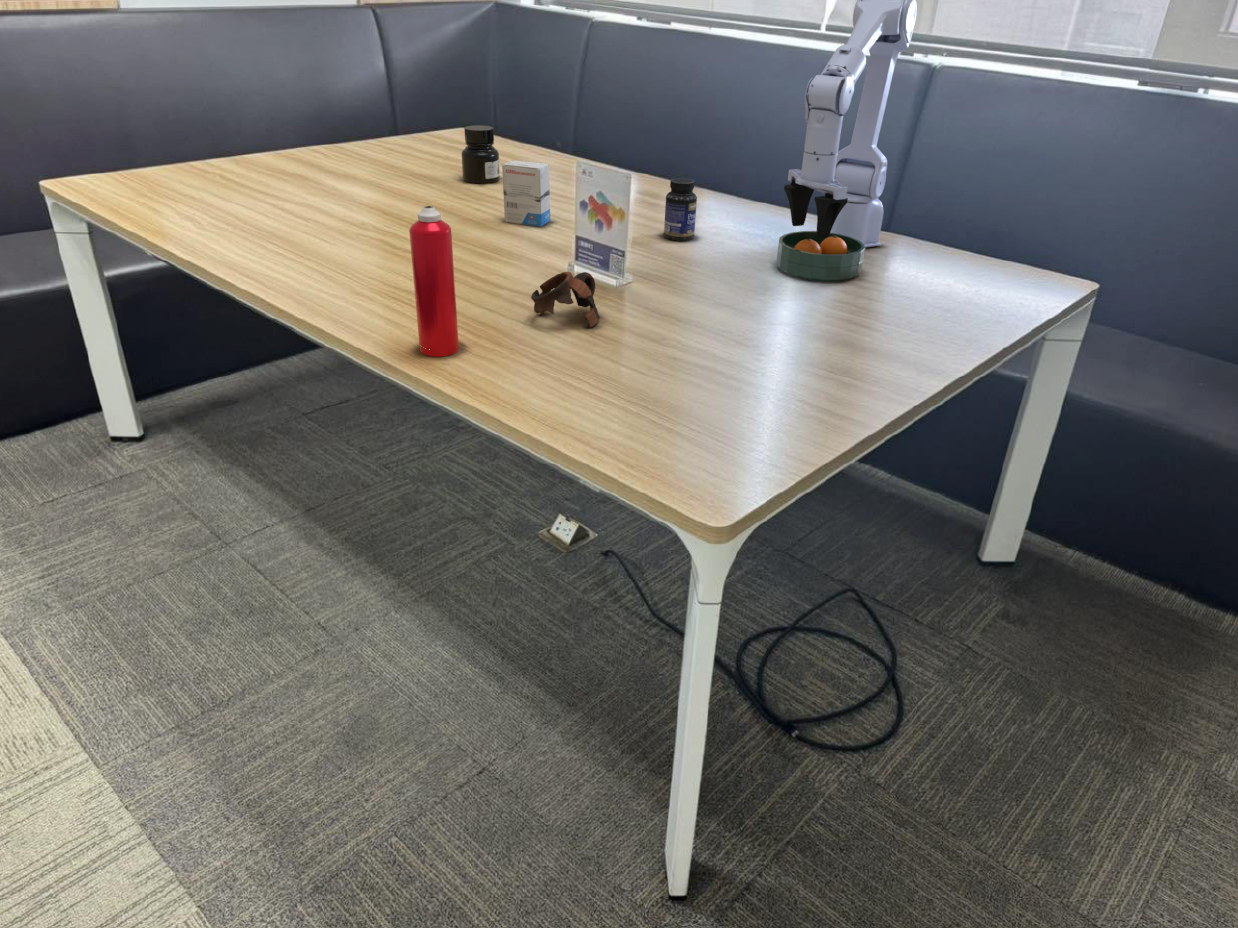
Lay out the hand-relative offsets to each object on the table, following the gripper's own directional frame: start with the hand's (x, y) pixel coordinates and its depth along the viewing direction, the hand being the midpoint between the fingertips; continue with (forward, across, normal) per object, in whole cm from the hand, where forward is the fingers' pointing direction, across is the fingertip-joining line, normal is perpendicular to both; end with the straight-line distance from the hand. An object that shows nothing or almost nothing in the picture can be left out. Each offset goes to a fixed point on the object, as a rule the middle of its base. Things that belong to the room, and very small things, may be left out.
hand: (810, 231), depth 159 cm
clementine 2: (+7, 0, +5) cm, 9 cm away
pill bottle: (+8, -27, -12) cm, 30 cm away
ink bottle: (+8, -86, -35) cm, 93 cm away
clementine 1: (+7, 0, 0) cm, 7 cm away
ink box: (+7, -47, -37) cm, 60 cm away
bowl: (+7, 0, +3) cm, 8 cm away
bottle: (+7, +12, -71) cm, 72 cm away
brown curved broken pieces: (+7, +7, -49) cm, 50 cm away
